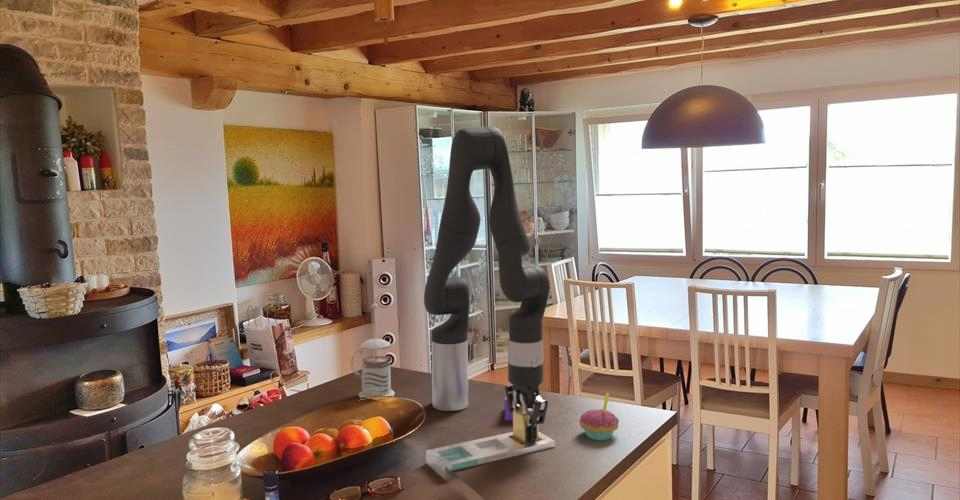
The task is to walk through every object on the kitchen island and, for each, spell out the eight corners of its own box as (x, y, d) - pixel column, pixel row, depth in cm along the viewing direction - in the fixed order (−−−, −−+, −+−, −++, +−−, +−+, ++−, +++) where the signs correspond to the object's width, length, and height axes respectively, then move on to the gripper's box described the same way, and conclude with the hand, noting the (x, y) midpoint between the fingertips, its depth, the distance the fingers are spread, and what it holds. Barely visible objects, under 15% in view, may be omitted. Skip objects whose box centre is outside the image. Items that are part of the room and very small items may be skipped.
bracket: (533, 427, 164) (533, 399, 163) (504, 427, 164) (504, 399, 163) (532, 410, 175) (532, 384, 175) (505, 410, 176) (504, 384, 175)
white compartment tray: (426, 463, 143) (425, 450, 143) (532, 439, 156) (532, 427, 155) (445, 480, 135) (444, 466, 135) (555, 453, 148) (555, 441, 147)
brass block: (513, 442, 150) (512, 410, 149) (528, 438, 152) (528, 407, 151) (522, 448, 147) (522, 416, 146) (538, 444, 149) (538, 413, 148)
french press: (392, 399, 184) (390, 306, 181) (348, 400, 184) (345, 307, 181) (397, 388, 193) (395, 300, 191) (355, 388, 194) (353, 300, 191)
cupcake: (620, 437, 156) (621, 385, 155) (615, 451, 148) (616, 397, 147) (582, 432, 159) (583, 382, 158) (575, 446, 151) (575, 393, 150)
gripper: (493, 355, 152) (494, 430, 154) (528, 371, 139) (528, 453, 141) (523, 350, 155) (523, 424, 157) (559, 365, 143) (559, 446, 145)
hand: (525, 437), depth 149 cm, fingers closed on brass block, 4 cm apart
